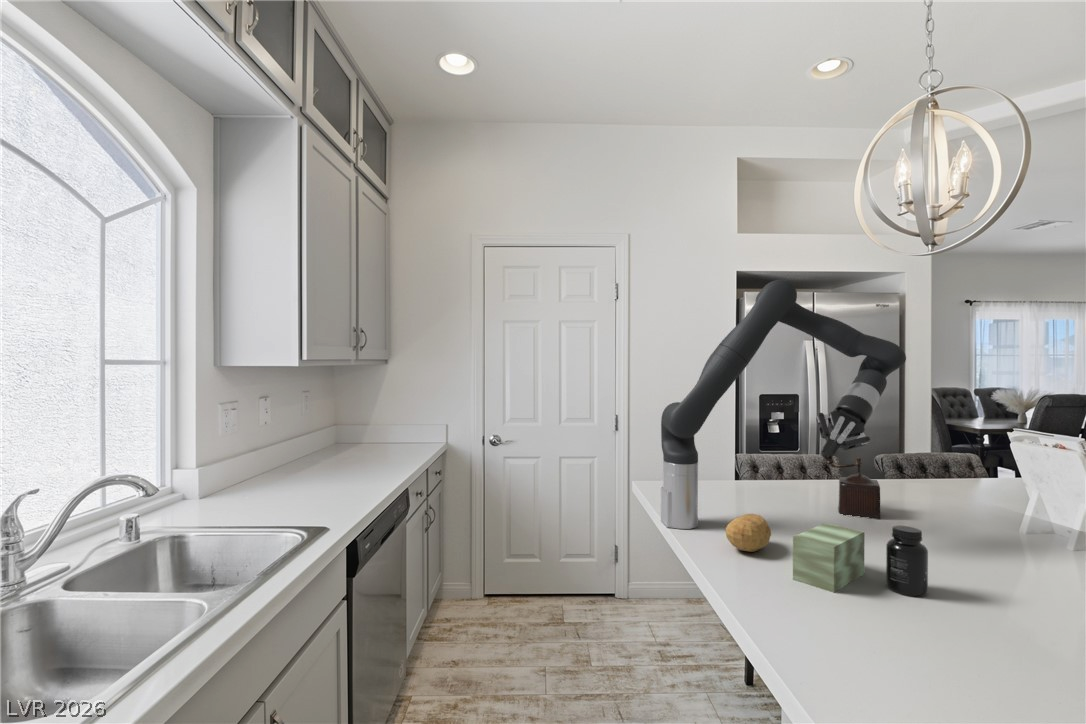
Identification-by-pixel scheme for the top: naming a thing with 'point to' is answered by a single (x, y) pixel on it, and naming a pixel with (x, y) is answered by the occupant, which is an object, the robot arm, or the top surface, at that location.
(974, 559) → the top surface
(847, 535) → the sage-green block
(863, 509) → the wooden coffee grinder
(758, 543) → the potato
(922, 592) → the supplement bottle
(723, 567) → the top surface
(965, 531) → the top surface
